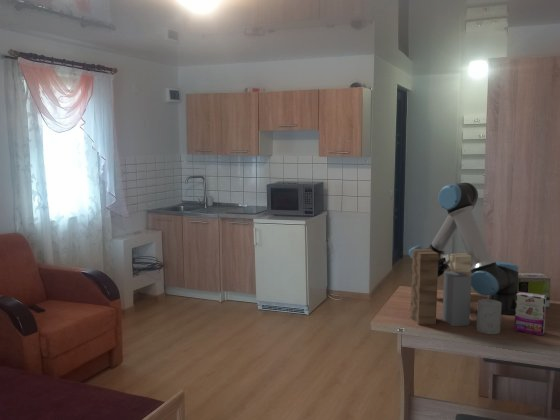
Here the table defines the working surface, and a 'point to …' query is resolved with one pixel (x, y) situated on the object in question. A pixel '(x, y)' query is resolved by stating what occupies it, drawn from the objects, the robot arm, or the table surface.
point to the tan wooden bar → (459, 262)
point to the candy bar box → (530, 313)
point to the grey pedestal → (456, 298)
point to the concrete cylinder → (489, 316)
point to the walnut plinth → (424, 286)
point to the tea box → (534, 284)
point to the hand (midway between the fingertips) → (452, 256)
